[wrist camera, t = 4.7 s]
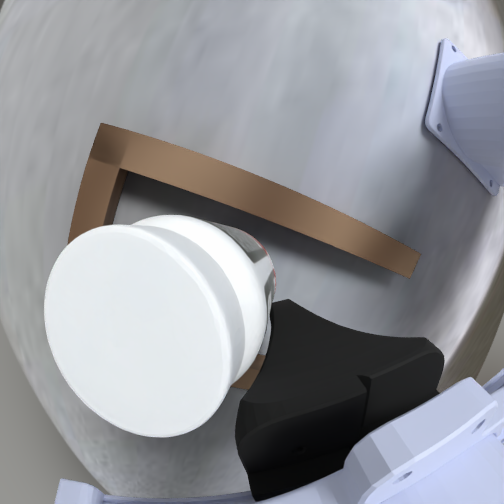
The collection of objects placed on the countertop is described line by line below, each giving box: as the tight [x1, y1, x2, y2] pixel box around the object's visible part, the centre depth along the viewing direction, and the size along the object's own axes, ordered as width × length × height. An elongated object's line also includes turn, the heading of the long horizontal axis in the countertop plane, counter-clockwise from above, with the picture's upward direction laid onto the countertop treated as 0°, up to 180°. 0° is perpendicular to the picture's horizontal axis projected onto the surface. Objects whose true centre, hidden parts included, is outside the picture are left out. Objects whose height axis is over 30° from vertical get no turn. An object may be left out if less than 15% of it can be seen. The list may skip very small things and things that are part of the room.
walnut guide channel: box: [67, 123, 421, 390], centre depth 13 cm, size 16×10×2 cm, turn 68°
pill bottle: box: [44, 215, 276, 438], centre depth 8 cm, size 5×5×8 cm
